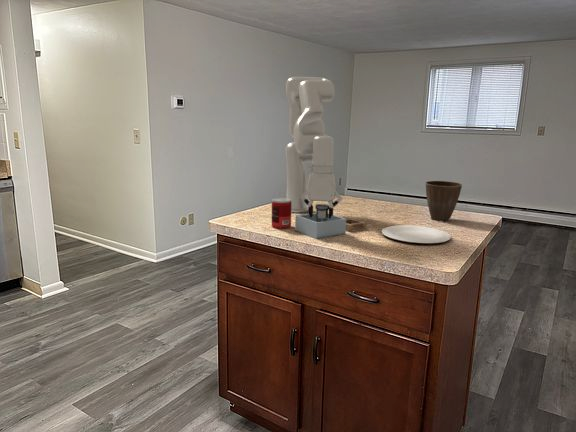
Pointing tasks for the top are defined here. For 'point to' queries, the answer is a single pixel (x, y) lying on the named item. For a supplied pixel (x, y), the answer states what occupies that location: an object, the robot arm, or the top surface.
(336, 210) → the top surface
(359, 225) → the socket block
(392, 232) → the plate
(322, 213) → the peg
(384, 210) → the top surface
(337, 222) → the bin
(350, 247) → the top surface
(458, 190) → the plant pot
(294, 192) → the robot arm
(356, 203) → the top surface
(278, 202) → the canned food
